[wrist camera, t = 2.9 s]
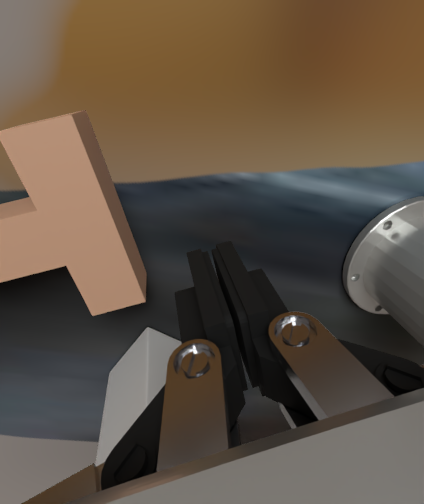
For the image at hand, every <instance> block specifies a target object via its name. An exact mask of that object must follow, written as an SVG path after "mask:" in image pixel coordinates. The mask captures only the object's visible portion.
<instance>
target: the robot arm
mask: <svg viewBox="0 0 424 504" xmlns="http://www.w3.org/2000/svg"><path fill="white" fill-rule="evenodd" d="M216 248H217V249H213V250H212V255H213V259H214V263H215V268H216V272H217V276H218V279H217V276H216V273H215V271H214V268H213V265H212V263H211V260H210V257H209V254H208V252H207V251H206V252H202V251H201V249H198V250H194V251H191V252H187V257H188V261H189V265H190V270H191V274H192V278H193V282H194V286H195V287H191V288H188V289H184V290H181V291H177V292H175V299H176V306H177V314H178V321H179V328H180V335H181V342H182V344H181V345H180V346H178V347H177V348H176V349H175V350H174V351H173V353H172V354H171V356H170V357H169V361H168V364H167V374H166V384H165V385H164V386H163V387H162V389H161V390H160V391H159V392H158V394H157V395H156V396H155V397H154V399H153V400H152V401H151V402H150V403H149V405H148V406H147V407H146V408H145V410H144V411H143V412H142V413H141V415H140V416H139V417H138V418H137V420H136V421H135V422H134V423H133V425H132V426H131V427H130V428H129V430H128V431H127V432H126V433H125V434H124V436H123V437H122V438H121V439H120V441H119V442H118V443H117V444H116V446H115V447H114V448H113V449H112V451H111V452H110V454H109V456H108V457H107V459H106V461H105V462H104V463H102V464H100V465H98V466H97V467H96V466H95V464H94V463H93V464H92V465H90V466H88V467H86V468H84V469H82V470H80V471H79V472H77V473H75V474H73V475H72V476H70V477H68V478H66V479H64V480H63V481H61V482H59V483H57V484H55V485H54V486H52V487H50V488H48V489H46V490H45V491H43V492H41V493H39V494H38V495H36V496H34V497H32V498H30V499H29V500H27V501H25V502H23V503H21V504H424V365H418V364H416V363H414V362H411V361H409V360H406V359H403V358H400V357H397V356H393V355H390V354H387V353H383V352H380V351H376V350H373V349H370V348H366V347H363V346H360V345H356V344H353V343H350V342H346V341H343V340H340V339H336V338H335V337H334V336H333V335H332V334H331V333H330V332H329V331H328V330H327V329H326V328H325V327H324V326H323V325H322V324H321V323H320V322H319V321H318V320H317V319H316V318H314V317H313V316H311V315H309V314H306V313H302V312H289V311H288V310H287V308H286V307H285V305H284V303H283V302H282V300H281V299H280V297H279V296H278V294H277V292H276V291H275V289H274V288H273V286H272V284H271V283H270V281H269V280H268V278H267V276H266V275H265V273H264V272H263V270H262V269H256V270H253V271H249V272H247V270H246V268H245V266H244V265H243V263H242V261H241V259H240V257H239V255H238V253H237V252H236V250H235V248H234V246H233V244H232V242H231V241H228V242H224V243H221V244H217V245H216ZM343 284H344V288H345V290H346V292H347V294H348V296H349V297H350V298H351V299H352V300H353V302H354V303H356V304H357V305H358V306H359V307H360V308H362V309H363V310H365V311H367V312H371V313H374V314H390V315H391V316H392V317H393V318H394V319H395V320H396V321H397V322H398V323H399V324H400V325H401V326H402V327H403V328H404V329H405V330H406V331H407V332H408V333H409V334H411V335H412V336H413V337H414V338H415V339H416V340H417V341H418V342H419V343H420V344H421V345H422V346H423V347H424V196H420V197H415V198H411V199H407V200H404V201H402V202H400V203H397V204H395V205H393V206H391V207H390V208H388V209H386V210H385V211H383V212H382V213H380V214H379V215H378V216H377V217H375V218H374V219H373V220H372V221H371V222H369V223H368V225H367V226H366V227H365V228H364V229H363V230H362V231H361V232H360V233H359V235H358V236H357V238H356V239H355V241H354V242H353V244H352V245H351V247H350V249H349V252H348V254H347V256H346V259H345V263H344V266H343ZM240 353H241V356H242V359H243V362H244V365H245V368H246V371H247V373H248V376H249V379H250V382H251V385H252V387H253V388H254V387H257V386H259V388H260V391H261V394H262V396H266V397H268V398H270V399H272V400H274V401H277V402H278V404H279V407H280V409H281V411H282V413H283V415H284V416H285V418H286V420H287V421H288V423H289V425H290V426H291V428H292V429H291V430H287V431H284V432H281V433H278V434H275V435H272V436H268V437H265V438H262V439H259V440H256V441H253V442H250V443H246V444H243V445H241V438H240V429H239V422H238V419H237V417H238V416H239V414H240V412H241V410H242V408H243V407H244V405H245V399H244V394H243V391H244V390H247V389H248V388H247V384H246V379H245V374H244V370H243V365H242V360H241V356H240Z"/></svg>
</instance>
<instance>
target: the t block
mask: <svg viewBox="0 0 424 504" xmlns="http://www.w3.org/2000/svg"><path fill="white" fill-rule="evenodd" d="M0 141H1V143H2V145H3V146H4V149H5V150H6V152H7V154H8V156H9V158H10V160H11V162H12V164H13V166H14V168H15V169H16V171H17V173H18V175H19V177H20V179H21V181H22V183H23V185H24V187H25V188H26V190H27V192H28V194H29V196H30V197H28V198H24V199H20V200H16V201H12V202H8V203H4V204H0V283H1V282H5V281H8V280H12V279H16V278H20V277H24V276H28V275H32V274H36V273H40V272H43V271H47V270H51V269H55V268H59V267H63V266H67V268H68V270H69V272H70V274H71V276H72V278H73V280H74V282H75V283H76V285H77V287H78V289H79V291H80V293H81V295H82V297H83V299H84V301H85V302H86V304H87V306H88V308H89V310H90V312H91V314H92V316H94V315H98V314H102V313H106V312H109V311H113V310H117V309H121V308H124V307H128V306H132V305H136V304H139V303H143V302H146V277H147V273H146V270H145V268H144V265H143V262H142V260H141V257H140V254H139V252H138V249H137V246H136V243H135V241H134V238H133V235H132V233H131V230H130V227H129V225H128V222H127V219H126V217H125V214H124V211H123V208H122V206H121V203H120V200H119V198H118V195H117V192H116V190H115V187H114V184H113V182H112V179H111V176H110V174H109V171H108V168H107V165H106V163H105V160H104V158H103V155H102V152H101V149H100V147H99V144H98V141H97V139H96V136H95V133H94V131H93V128H92V125H91V122H90V120H89V117H88V114H87V112H86V110H83V111H79V112H75V113H70V114H66V115H61V116H57V117H53V118H48V119H44V120H40V121H36V122H31V123H27V124H23V125H19V126H16V127H12V128H9V129H5V130H2V131H0Z"/></svg>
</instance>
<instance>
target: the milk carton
mask: <svg viewBox="0 0 424 504" xmlns="http://www.w3.org/2000/svg"><path fill="white" fill-rule="evenodd" d="M181 344H182V342H181V341H178V340H176V339H174V338H172V337H169V336H167V335H165V334H163V333H161V332H158V331H156V330H154V329H151V328H149V327H147V328H146V329H145V330H144V332H143V333H142V334H141V335H140V336H139V338H138V339H137V340H136V341H135V342H134V344H133V345H132V346H131V347H130V349H129V350H128V351H127V352H126V353H125V355H124V356H123V357H122V358H121V359H120V361H119V362H118V363H117V364H116V365H115V367H114V368H113V369H112V370H111V372H110V374H109V379H108V386H107V392H106V399H105V405H104V412H103V418H102V425H101V431H100V438H99V444H98V452H97V457H96V464H95V466H96V467H97V466H98V465H100V464H102V463H104V462H105V461H106V459H107V457H108V456H109V454H110V452H111V451H112V449H113V448H114V447H115V446H116V444H117V443H118V442H119V441H120V439H121V438H122V437H123V436H124V434H125V433H126V432H127V431H128V430H129V428H130V427H131V426H132V425H133V423H134V422H135V421H136V420H137V418H138V417H139V416H140V415H141V413H142V412H143V411H144V410H145V408H146V407H147V406H148V405H149V403H150V402H151V401H152V400H153V399H154V397H155V396H156V395H157V394H158V392H159V391H160V390H161V389H162V387H163V386H164V385H165V384H166V374H167V364H168V361H169V357H170V356H171V354H172V353H173V351H174V350H175V349H176V348H177V347H178V346H180V345H181Z"/></svg>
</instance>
